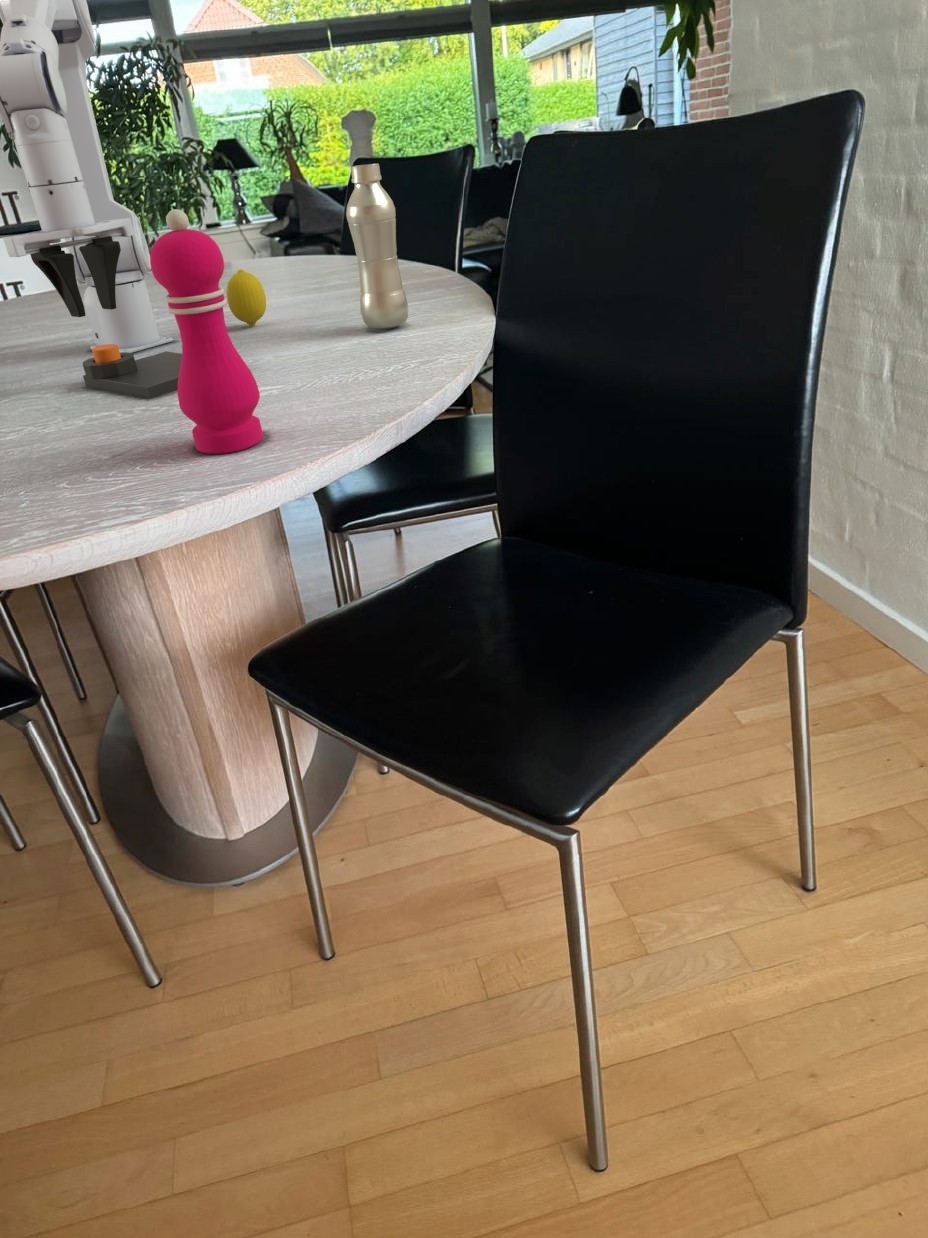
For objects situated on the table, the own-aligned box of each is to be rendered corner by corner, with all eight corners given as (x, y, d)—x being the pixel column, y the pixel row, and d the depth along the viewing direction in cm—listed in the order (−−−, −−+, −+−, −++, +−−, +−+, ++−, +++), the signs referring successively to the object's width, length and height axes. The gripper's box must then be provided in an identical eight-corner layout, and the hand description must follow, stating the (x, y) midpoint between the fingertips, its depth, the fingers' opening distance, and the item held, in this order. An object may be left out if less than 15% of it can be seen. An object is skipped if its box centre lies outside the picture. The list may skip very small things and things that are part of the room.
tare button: (91, 363, 105) (86, 349, 104) (113, 357, 107) (108, 343, 106) (104, 365, 103) (100, 351, 102) (126, 359, 105) (122, 344, 104)
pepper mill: (198, 434, 84) (141, 209, 74) (272, 426, 85) (225, 200, 74) (184, 460, 78) (119, 218, 68) (264, 450, 78) (211, 208, 68)
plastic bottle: (420, 323, 120) (401, 160, 110) (391, 334, 115) (368, 166, 105) (383, 321, 123) (361, 163, 113) (353, 332, 119) (328, 169, 109)
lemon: (262, 329, 126) (250, 271, 122) (227, 331, 128) (214, 273, 124) (276, 321, 131) (265, 264, 127) (243, 322, 132) (231, 267, 128)
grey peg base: (81, 387, 106) (73, 362, 104) (166, 361, 114) (160, 338, 112) (147, 400, 98) (140, 373, 96) (235, 371, 106) (229, 346, 104)
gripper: (10, 191, 88) (54, 328, 95) (133, 174, 97) (166, 300, 104) (-22, 193, 92) (23, 324, 99) (100, 177, 101) (133, 298, 108)
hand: (94, 312), depth 102 cm, fingers open, 3 cm apart
